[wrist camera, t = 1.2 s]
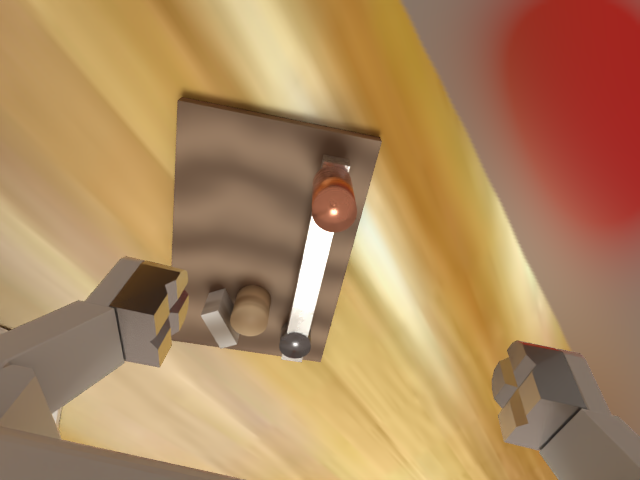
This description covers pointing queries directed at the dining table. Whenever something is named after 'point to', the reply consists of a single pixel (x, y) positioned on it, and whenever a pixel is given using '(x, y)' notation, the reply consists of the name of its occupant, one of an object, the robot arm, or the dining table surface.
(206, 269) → the nutcracker base
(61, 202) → the dining table surface
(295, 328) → the lever
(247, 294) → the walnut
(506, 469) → the dining table surface
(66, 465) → the robot arm
